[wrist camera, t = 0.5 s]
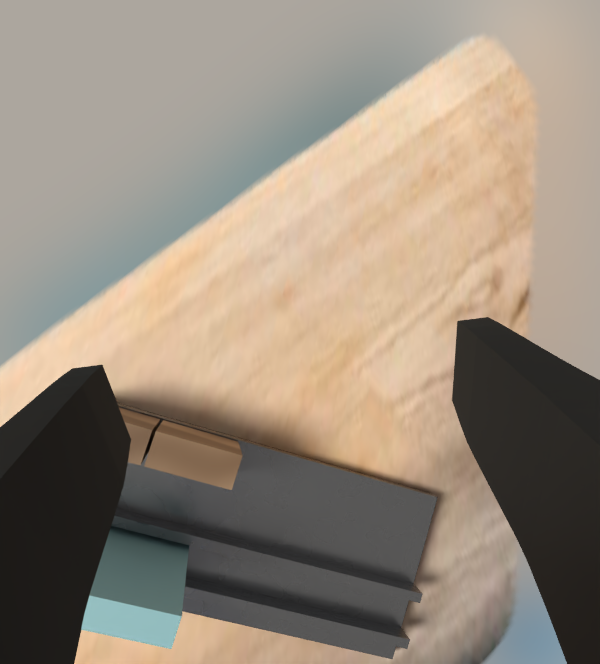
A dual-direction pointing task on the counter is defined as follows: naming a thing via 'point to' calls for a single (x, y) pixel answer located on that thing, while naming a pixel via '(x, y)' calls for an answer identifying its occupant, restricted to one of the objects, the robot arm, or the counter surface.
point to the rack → (289, 544)
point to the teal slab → (138, 588)
